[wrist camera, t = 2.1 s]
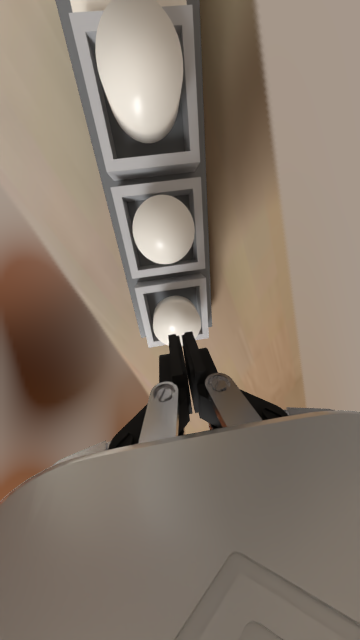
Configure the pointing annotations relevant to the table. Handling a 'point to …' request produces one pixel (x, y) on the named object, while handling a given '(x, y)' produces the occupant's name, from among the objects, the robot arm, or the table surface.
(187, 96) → the button board
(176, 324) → the button
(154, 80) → the button
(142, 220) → the button middle
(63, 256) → the table surface
